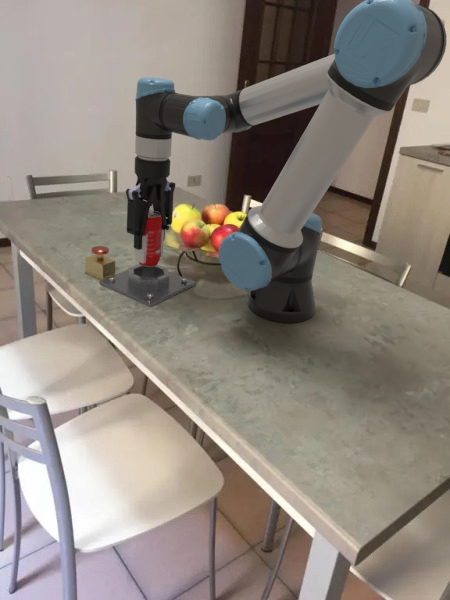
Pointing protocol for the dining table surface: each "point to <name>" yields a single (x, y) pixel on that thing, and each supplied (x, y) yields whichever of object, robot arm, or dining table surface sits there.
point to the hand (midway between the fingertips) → (148, 257)
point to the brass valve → (100, 263)
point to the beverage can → (153, 238)
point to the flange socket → (148, 284)
